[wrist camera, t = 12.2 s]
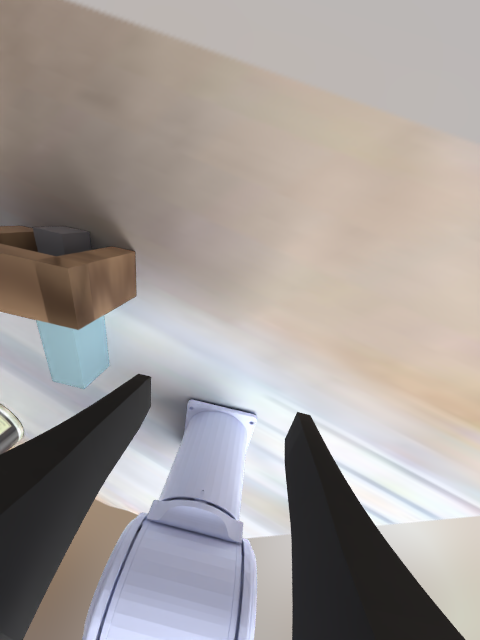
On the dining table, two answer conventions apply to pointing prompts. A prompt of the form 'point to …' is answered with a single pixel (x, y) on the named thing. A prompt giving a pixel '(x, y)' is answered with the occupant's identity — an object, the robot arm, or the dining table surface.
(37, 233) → the light blue pillar
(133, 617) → the robot arm
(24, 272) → the brown block
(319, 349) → the dining table surface
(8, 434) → the coffee can
